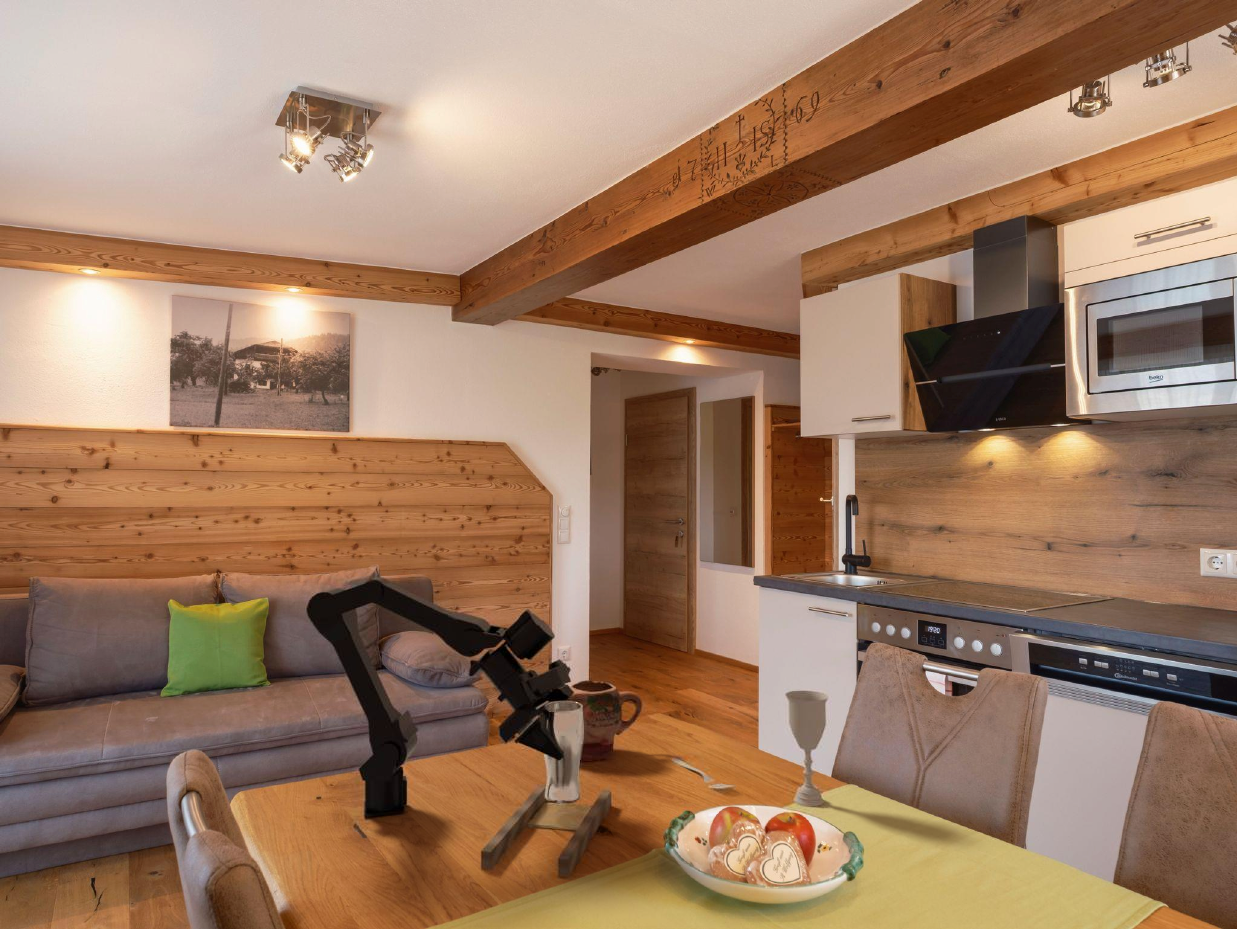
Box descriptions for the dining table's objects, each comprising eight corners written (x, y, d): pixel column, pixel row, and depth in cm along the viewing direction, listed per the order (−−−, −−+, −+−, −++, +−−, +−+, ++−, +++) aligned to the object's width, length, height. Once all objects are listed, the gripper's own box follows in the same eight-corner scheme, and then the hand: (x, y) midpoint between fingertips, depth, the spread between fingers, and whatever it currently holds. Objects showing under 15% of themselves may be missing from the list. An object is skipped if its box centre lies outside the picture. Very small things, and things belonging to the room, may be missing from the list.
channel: (568, 877, 111) (568, 859, 111) (481, 868, 114) (481, 851, 114) (611, 805, 136) (611, 790, 137) (538, 799, 139) (538, 785, 139)
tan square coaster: (584, 831, 126) (584, 828, 126) (527, 826, 128) (527, 823, 128) (598, 809, 135) (598, 806, 135) (544, 804, 137) (544, 802, 137)
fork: (672, 754, 163) (672, 746, 164) (738, 795, 141) (738, 785, 142) (659, 757, 162) (658, 748, 162) (723, 798, 140) (722, 788, 140)
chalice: (782, 804, 136) (780, 697, 137) (793, 790, 142) (791, 688, 143) (825, 811, 133) (823, 702, 134) (834, 797, 139) (832, 693, 140)
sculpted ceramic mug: (628, 738, 173) (627, 674, 174) (653, 755, 162) (652, 686, 163) (540, 751, 165) (540, 683, 166) (559, 770, 154) (559, 697, 155)
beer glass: (586, 790, 135) (586, 700, 135) (580, 806, 128) (580, 712, 128) (545, 788, 136) (546, 699, 136) (537, 805, 129) (538, 711, 129)
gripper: (515, 658, 125) (580, 737, 121) (563, 637, 143) (621, 705, 139) (471, 704, 127) (533, 783, 123) (523, 678, 145) (579, 746, 141)
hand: (570, 751), depth 131 cm, fingers closed on beer glass, 7 cm apart
